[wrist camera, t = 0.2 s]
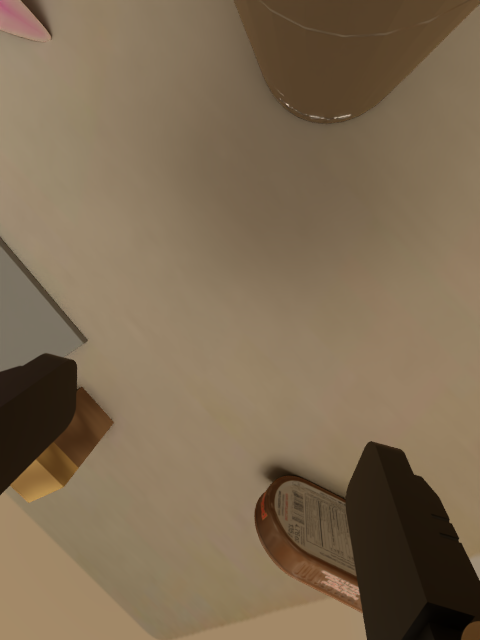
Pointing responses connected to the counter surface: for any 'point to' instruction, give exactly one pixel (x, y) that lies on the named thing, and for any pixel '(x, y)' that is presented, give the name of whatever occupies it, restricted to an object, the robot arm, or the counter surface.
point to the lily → (21, 21)
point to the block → (65, 451)
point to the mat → (30, 317)
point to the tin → (309, 537)
